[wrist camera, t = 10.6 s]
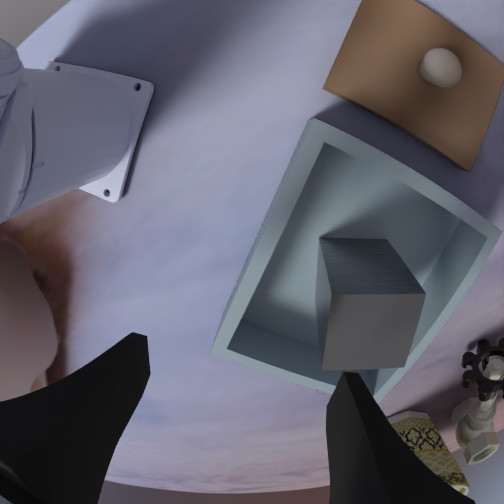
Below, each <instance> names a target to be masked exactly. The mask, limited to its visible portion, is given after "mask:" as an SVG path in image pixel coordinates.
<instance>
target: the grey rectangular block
mask: <svg viewBox="0 0 504 504" xmlns="http://www.w3.org/2000/svg"><path fill="white" fill-rule="evenodd" d="M425 297H426V293H425V291H424V290H423V288H422V287H421V285H420V284H419V282H418V281H417V279H416V278H415V277H414V275H413V274H412V272H411V271H410V270H409V268H408V267H407V265H406V264H405V263H404V261H403V260H402V259H401V257H400V256H399V255H398V253H397V252H396V250H395V249H394V248H393V247H392V245H391V244H390V243H389V241H388V240H387V239H364V238H323V237H319V243H318V260H317V275H316V289H315V307H316V316H317V326H318V336H319V346H320V357H321V369H322V371H328V370H368V369H387V368H402V367H405V364H406V361H407V358H408V355H409V352H410V349H411V346H412V343H413V340H414V336H415V333H416V330H417V326H418V323H419V319H420V316H421V312H422V309H423V305H424V301H425Z"/></svg>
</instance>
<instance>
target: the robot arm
mask: <svg viewBox="0 0 504 504" xmlns="http://www.w3.org/2000/svg"><path fill="white" fill-rule="evenodd" d="M59 67H60V70H59V71H58V69H59ZM138 84H141V89H140V90H139V91H137V89H136V87H137V85H138ZM153 92H154V85H153V84H152V83H151V82H148V81H145V80H141V79H137V78H133V77H129V76H125V75H120V74H116V73H112V72H107V71H102V70H97V69H93V68H87V67H82V66H77V65H71V64H65V63H59V62H52V61H50V62H48V63H47V64H46V65H45V67H44V70H42V69H28V68H24V66H23V64H22V62H21V60H20V58H19V55H18V52H17V50H16V49H15V47H14V46H12V45H11V44H10V43H8V42H7V41H5V40H3V39H1V38H0V223H2V222H4V221H6V220H8V219H10V218H12V217H14V216H16V215H18V214H20V213H22V212H25V211H27V210H29V209H31V208H33V207H35V206H37V205H40V204H42V203H44V202H46V201H49V200H51V199H53V198H56V197H58V196H60V195H63V194H65V193H67V192H70V191H72V190H75V189H77V188H79V189H81V190H84V191H86V192H88V193H91V194H93V195H95V196H98V197H100V198H102V199H105V200H107V201H109V202H112V203H116V202H118V201H120V200H121V198H122V194H123V190H124V186H125V182H126V178H127V175H128V171H129V167H130V163H131V160H132V156H133V153H134V150H135V146H136V143H137V140H138V136H139V133H140V130H141V127H142V124H143V121H144V118H145V115H146V112H147V109H148V106H149V103H150V100H151V97H152V95H153ZM107 189H108V190H109V191H110V195H108V194H107ZM149 377H150V364H149V353H148V341H147V336H145V335H141V334H137V333H134V332H132V333H130V334H129V335H128V336H126V337H125V338H123V339H122V340H121V341H119V342H118V343H116V344H115V345H114V346H112V347H111V348H110V349H108V350H107V351H105V352H104V353H103V354H101V355H100V356H98V357H97V358H95V359H94V360H92V361H91V362H90V363H88V364H86V365H85V366H83V367H82V368H80V369H78V370H77V371H75V372H74V373H72V374H70V375H68V376H67V377H65V378H63V379H61V380H59V381H57V382H55V383H53V384H51V385H49V386H47V387H44V388H42V389H39V390H37V391H34V392H31V393H29V394H26V395H23V396H20V397H17V398H13V399H10V400H6V401H1V402H0V504H97V503H98V500H99V496H100V493H101V489H102V485H103V482H104V479H105V476H106V473H107V470H108V467H109V464H110V461H111V459H112V456H113V453H114V450H115V448H116V445H117V443H118V441H119V439H120V437H121V435H122V433H123V431H124V429H125V428H126V426H127V424H128V422H129V420H130V418H131V416H132V414H133V413H134V411H135V409H136V407H137V405H138V403H139V401H140V399H141V397H142V395H143V393H144V390H145V388H146V385H147V382H148V379H149ZM326 436H327V448H328V459H329V471H330V500H329V504H475V501H474V500H472V499H470V498H468V497H467V496H465V495H464V494H462V493H461V492H459V491H457V490H456V489H454V488H453V487H452V486H450V485H449V484H448V483H446V482H445V481H444V480H442V479H441V478H440V477H439V476H437V475H436V474H435V473H434V472H433V471H432V470H431V469H430V468H428V467H427V466H426V465H425V464H424V463H423V462H422V461H421V460H420V459H419V458H418V457H417V456H416V455H415V454H414V452H413V451H412V450H411V449H410V448H409V447H408V446H407V445H406V443H405V442H404V441H403V440H402V438H401V437H400V436H399V435H398V433H397V432H396V431H395V429H394V428H393V427H392V425H391V424H390V422H389V421H388V419H387V418H386V416H385V415H384V413H383V412H382V410H381V409H380V407H379V406H378V404H377V402H376V401H375V399H374V397H373V396H372V394H371V393H370V391H369V389H368V388H367V386H366V384H365V383H364V381H363V379H362V378H361V376H360V374H359V373H356V372H345V371H343V372H342V375H341V377H340V379H339V381H338V383H337V386H336V388H335V390H334V392H333V394H332V396H331V398H330V401H329V403H328V405H327V414H326Z"/></svg>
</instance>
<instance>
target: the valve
mask: <svg viewBox="0 0 504 504" xmlns="http://www.w3.org/2000/svg"><path fill="white" fill-rule="evenodd" d="M477 353H478V354H476V355H474V353H472V352H466V353H464V355H463V358H462V367H463V368H465V369H466V366H467V365H470V366H471V367H472V370H467V371H465V372H464V373H463V377H462V381H461V384H462V386H463V387H465V388H470V386H471V384H472V383H473V382H476V383H477V384H478V385H479V389H478V392H479V394H478V397H477V398H467V399H466V400H465V401H463V402H462V403H460V404H459V405H457V406H456V407H455V408H454V409H453V412H452V416H451V420H452V423H453V425H454V428H455V429H456V440H457V442H458V444H459V446H460V447H461V448H463V449H464V452H463V454H464V457H465V460H466V463H467V464H470V465H471V464H477V463H479V462H482V461H483V460H485V459H487V458H488V457H490V456H491V455H492V454H493V453H495V452H496V450H497V449H498V447H499V445H500V441H499V439H498V436H497V434H496V432H493V430H494V425H493V418H494V416H495V413H496V406H495V404H494V402H495V399H496V397H497V394H498V392H497V391H498V390H503V393H504V362H503V361H502V360H501V359H492V360H491V361H490V362H489V363H488V361H489V356H493V355H498V356H502V357H504V338H502V339H500V341H499V345H498V346H490V345H489V341H488V340H486V339H483V340H480V341H479V342H478V346H477ZM481 361H482V367H483V371H484V374H483V375H482V374H481V372H480V370H479V366H478V365H479V363H480V362H481ZM503 398H504V394H503Z"/></svg>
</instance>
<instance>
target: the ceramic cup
mask: <svg viewBox="0 0 504 504" xmlns="http://www.w3.org/2000/svg"><path fill="white" fill-rule="evenodd" d="M387 419H388V421H389V422H390V424H391V425H392V427H393V428H394V429H395V431H396V432H397V433H398V435H399V436H400V437H401V438H402V440H403V441H404V442H405V443H406V445H407V446H408V447H409V448H410V449H411V450H412V451H413V452H414V454H415V455H416V456H417V457H418V458H419V459H420V460H421V461H422V462H423V463H424V464H425V465H426V466H427V467H428V468H430V469H431V470H432V471H433V472H434V473H435V474H436V475H437V476H439V477H440V478H441V479H442V480H444V481H445V482H446V483H448V484H449V485H450V486H452V487H453V488H454V489H456V490H457V491H459V492H461V493H462V494H464V495H465V496H466V495H467V493H468V492H469V485H468V483H467V481H466V478H465V476H464V474H463V472H462V471H461V469H460V467H459V465H458V463H457V462H456V460H455V459H454V457H453V456H452V454H451V453H450V452H449V450H448V448H447V446H446V444H445V443H444V441H443V439H442V437H441V436H440V434H439V432H438V431H437V429H436V427H435V425H434V423H433V422H432V420H431V418H430V417H429V415H428V414H427V413H425V412H417V411H409V410H407V411H404V412H402V413H399V414H396V415H394V416H391V417H388V418H387Z"/></svg>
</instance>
